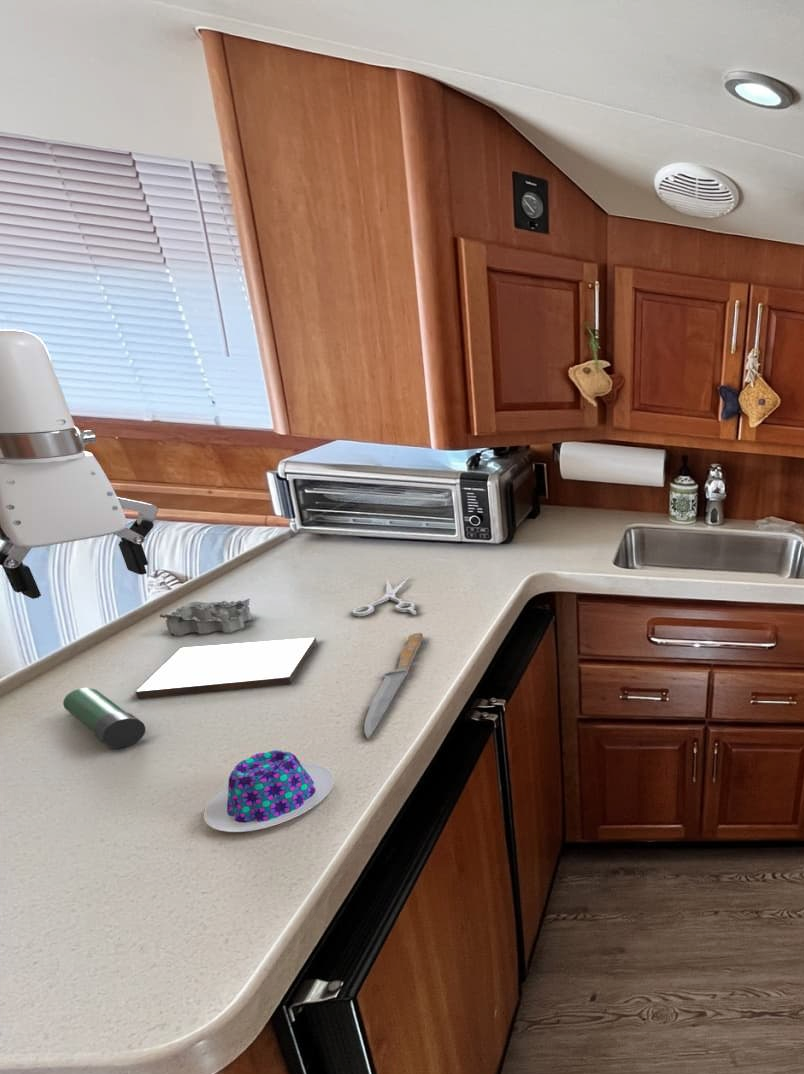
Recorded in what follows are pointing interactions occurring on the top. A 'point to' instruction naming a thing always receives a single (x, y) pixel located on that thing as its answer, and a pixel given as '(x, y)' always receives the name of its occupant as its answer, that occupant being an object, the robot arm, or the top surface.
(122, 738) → the marker
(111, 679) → the top surface
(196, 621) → the egg carton
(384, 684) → the knife
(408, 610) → the scissors
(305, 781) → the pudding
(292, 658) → the board
